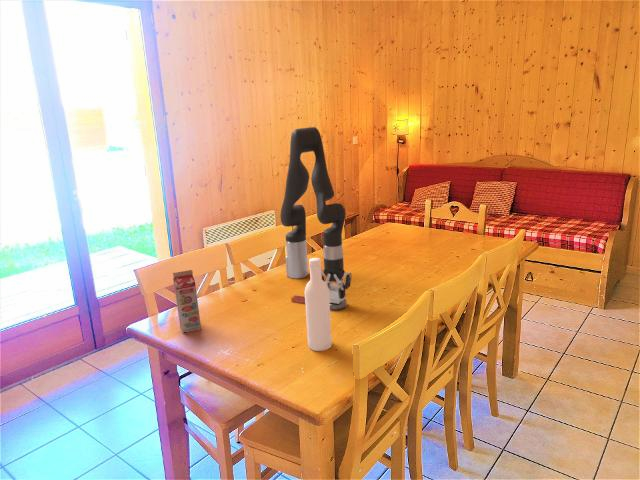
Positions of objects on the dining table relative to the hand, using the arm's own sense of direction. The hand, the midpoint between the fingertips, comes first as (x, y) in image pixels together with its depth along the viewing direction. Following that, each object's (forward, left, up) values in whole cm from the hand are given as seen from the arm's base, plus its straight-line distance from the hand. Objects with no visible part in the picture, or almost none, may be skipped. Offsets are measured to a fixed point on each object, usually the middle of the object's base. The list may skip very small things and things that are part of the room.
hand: (335, 296), depth 190 cm
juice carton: (-43, -35, -4) cm, 56 cm away
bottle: (+8, -31, -4) cm, 32 cm away
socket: (0, 0, -1) cm, 1 cm away
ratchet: (-7, 0, -4) cm, 8 cm away
